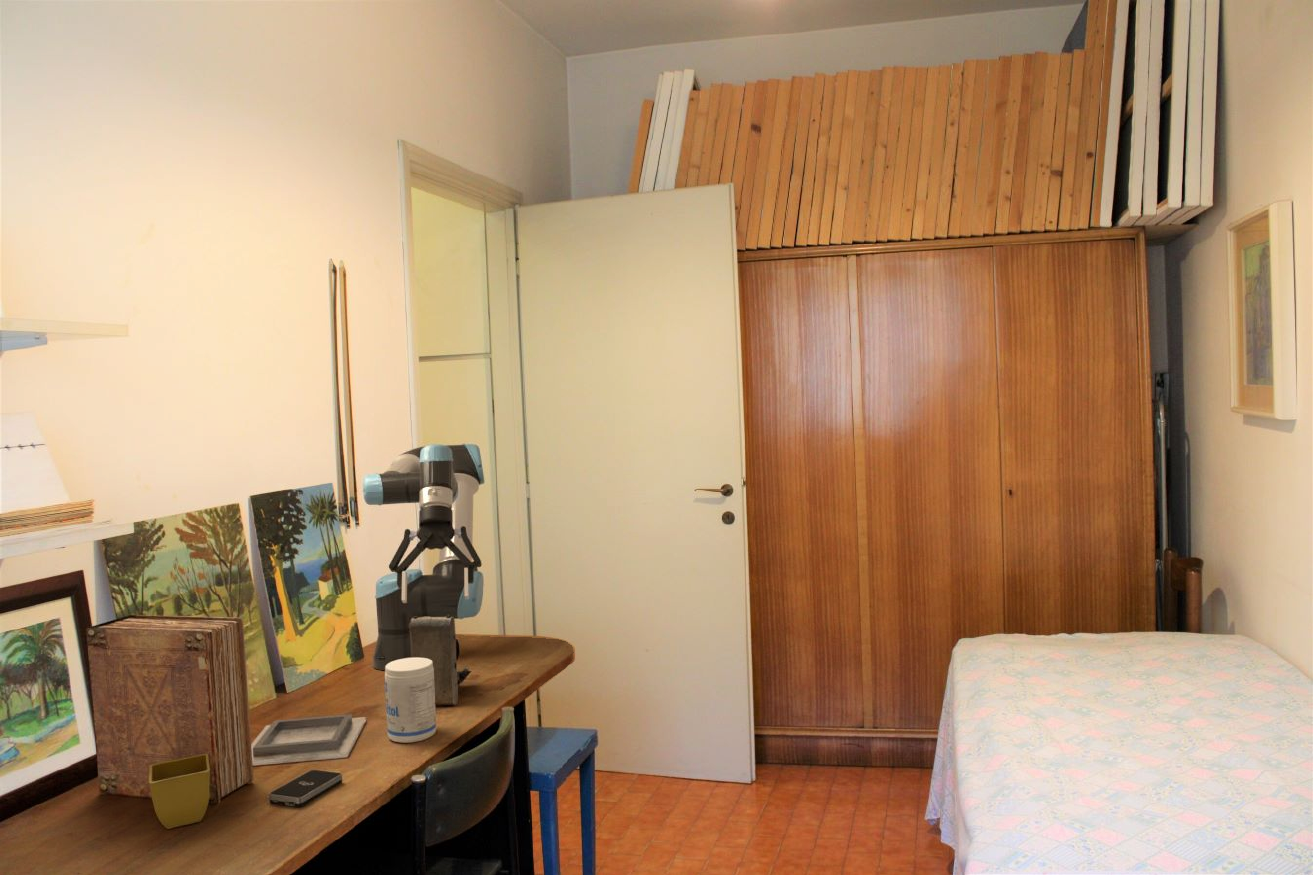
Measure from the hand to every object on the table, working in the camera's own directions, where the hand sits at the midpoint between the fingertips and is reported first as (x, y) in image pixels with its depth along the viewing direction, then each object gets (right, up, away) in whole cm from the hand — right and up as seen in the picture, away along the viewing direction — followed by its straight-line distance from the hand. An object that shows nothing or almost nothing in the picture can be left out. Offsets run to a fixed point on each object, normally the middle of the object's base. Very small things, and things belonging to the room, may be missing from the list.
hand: (435, 599), depth 211 cm
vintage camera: (+1, -23, +4) cm, 23 cm away
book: (-36, -27, -42) cm, 61 cm away
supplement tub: (0, -24, -20) cm, 31 cm away
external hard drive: (-12, -26, -46) cm, 54 cm away
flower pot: (-29, -27, -55) cm, 68 cm away
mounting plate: (-21, -25, -22) cm, 39 cm away
